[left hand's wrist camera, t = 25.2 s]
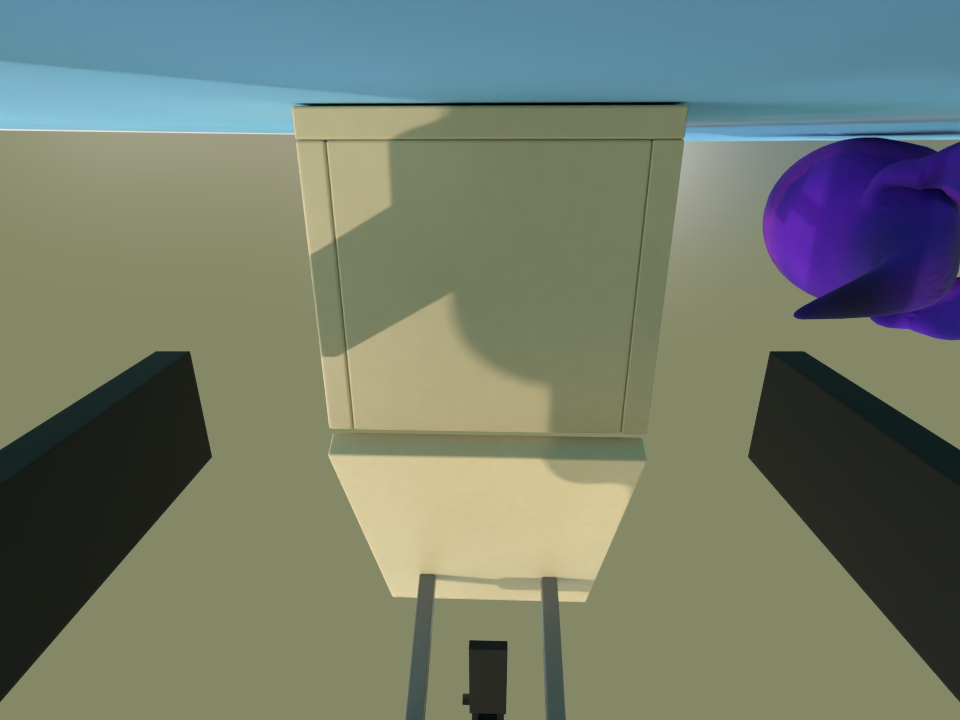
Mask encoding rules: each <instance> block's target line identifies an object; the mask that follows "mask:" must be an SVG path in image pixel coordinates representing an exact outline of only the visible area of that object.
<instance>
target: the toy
mask: <svg viewBox="0 0 960 720" xmlns="http://www.w3.org/2000/svg"><path fill="white" fill-rule="evenodd" d="M763 235H764V241H765V244H766V248H767V250H768V253H769V255H770V257H771V259H772V261H773V262H774V264H775V265H776V267H777V268H778V269H779V271H780V272H781V273H782V274H783V275H784V276H785V277H786V278H787V279H788V280H789V281H790V282H791V283H793V284H794V285H795V286H797V287H798V288H800V289H801V290H803V291H805V292H806V293H808V294H810V295H813V296H815V297H817V298H818V299H816V300H814V301H812V302H810V303H808V304H806V305H805V306H803V307H801V308H800V309H798V310H797V311H796V312H795V313H794V317H795V318H797V319H843V318H860V317H870V318H871V320H872V321H874V322H875V323H877V324H878V325H881V326H884V327H889V328H901V329H910V330H913V331H915V332H919V333H921V334H924V335H928V336H930V337H934V338H938V339H945V340H960V277H957V273H958V270H959V264H960V142H958V143H956V144H953V145H951V146H949V147H947V148H945V149H943V150H941V151H939V152H937V151H935V150H933V149H931V148H928V147H925V146H921V145H916V144H912V143H907V142H902V141H896V140H890V139H884V138H854V139H847V140H842V141H838V142H835V143H832V144H829V145H826V146H824V147H821V148H819V149H817V150H815V151H813V152H811V153H809V154H808V155H806V156H805V157H803V158H801V159H800V160H798V161H797V162H796V163H795V164H794V165H792V166H791V167H790V168H789V169H788V170H787V171H786V172H785V173H784V174H783V175H782V176H781V178H780V179H779V180H778V182H777V183H776V184H775V186H774V188H773V189H772V191H771V193H770V195H769V197H768V200H767V204H766V207H765V210H764V216H763ZM956 277H957V278H956Z"/></svg>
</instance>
